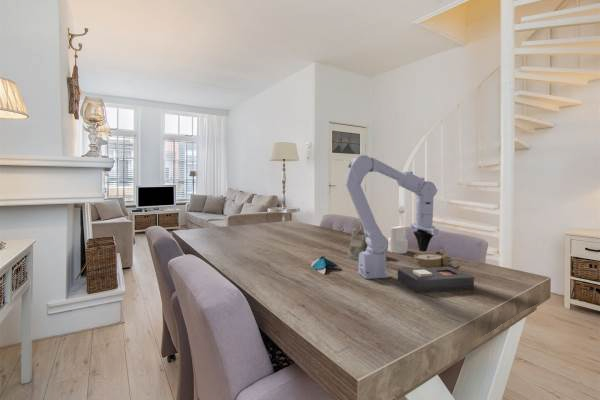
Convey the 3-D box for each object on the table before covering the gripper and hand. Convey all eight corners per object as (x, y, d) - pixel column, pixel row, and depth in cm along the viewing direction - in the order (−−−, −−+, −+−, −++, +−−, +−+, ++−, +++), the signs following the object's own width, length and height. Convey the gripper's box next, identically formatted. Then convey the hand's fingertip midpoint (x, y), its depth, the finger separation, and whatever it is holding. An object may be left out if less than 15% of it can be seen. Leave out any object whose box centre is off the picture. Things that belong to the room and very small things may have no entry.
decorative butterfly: (322, 255, 126) (340, 253, 118) (325, 270, 125) (342, 270, 117) (304, 258, 120) (321, 257, 112) (306, 275, 119) (324, 275, 111)
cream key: (419, 283, 98) (420, 274, 97) (412, 278, 102) (412, 270, 102) (432, 282, 98) (432, 273, 98) (424, 278, 103) (424, 269, 103)
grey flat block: (417, 293, 93) (417, 280, 93) (397, 280, 105) (397, 269, 105) (473, 289, 97) (474, 277, 97) (448, 277, 109) (449, 266, 109)
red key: (444, 285, 99) (444, 276, 99) (436, 280, 104) (436, 272, 103) (456, 284, 100) (456, 275, 100) (447, 279, 105) (447, 271, 104)
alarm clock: (410, 253, 133) (445, 248, 131) (411, 264, 133) (447, 259, 131) (417, 260, 121) (456, 255, 120) (419, 272, 122) (458, 267, 120)
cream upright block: (394, 248, 155) (395, 225, 154) (410, 251, 148) (411, 227, 147) (384, 250, 149) (385, 226, 148) (400, 254, 142) (401, 229, 141)
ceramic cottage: (341, 256, 137) (344, 223, 136) (362, 251, 149) (365, 221, 147) (370, 265, 126) (374, 230, 125) (390, 260, 137) (394, 227, 136)
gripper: (447, 216, 103) (445, 255, 104) (423, 211, 118) (421, 246, 119) (428, 216, 102) (426, 256, 103) (406, 212, 116) (405, 246, 117)
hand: (422, 251), depth 111 cm, fingers closed
